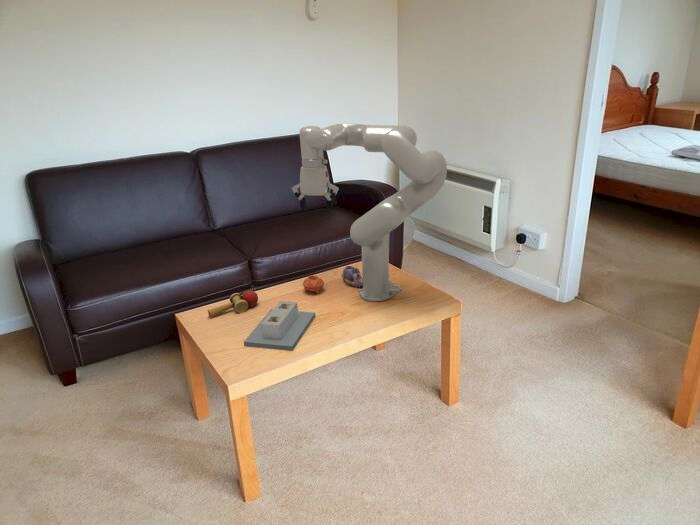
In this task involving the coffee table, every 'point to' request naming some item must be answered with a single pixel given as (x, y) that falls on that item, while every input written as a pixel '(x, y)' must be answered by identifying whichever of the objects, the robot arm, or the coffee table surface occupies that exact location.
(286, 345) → the pin board
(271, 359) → the coffee table surface
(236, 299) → the kendama
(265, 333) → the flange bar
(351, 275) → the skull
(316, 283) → the pot
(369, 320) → the coffee table surface
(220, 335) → the coffee table surface
